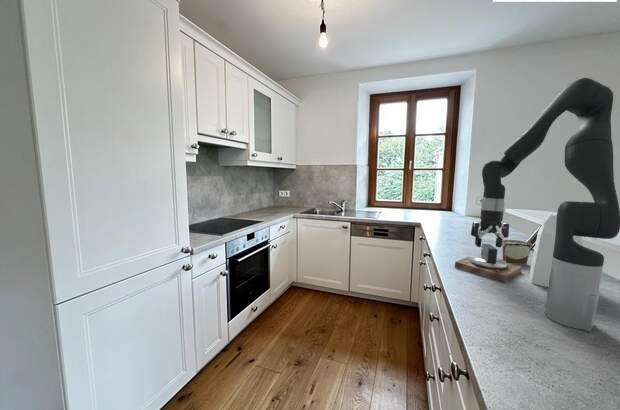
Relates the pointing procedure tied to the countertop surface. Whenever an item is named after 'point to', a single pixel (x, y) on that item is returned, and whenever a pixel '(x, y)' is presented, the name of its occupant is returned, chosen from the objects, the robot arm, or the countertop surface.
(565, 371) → the countertop surface
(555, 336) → the countertop surface
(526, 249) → the food container
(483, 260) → the dial
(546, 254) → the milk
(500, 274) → the wooden board
